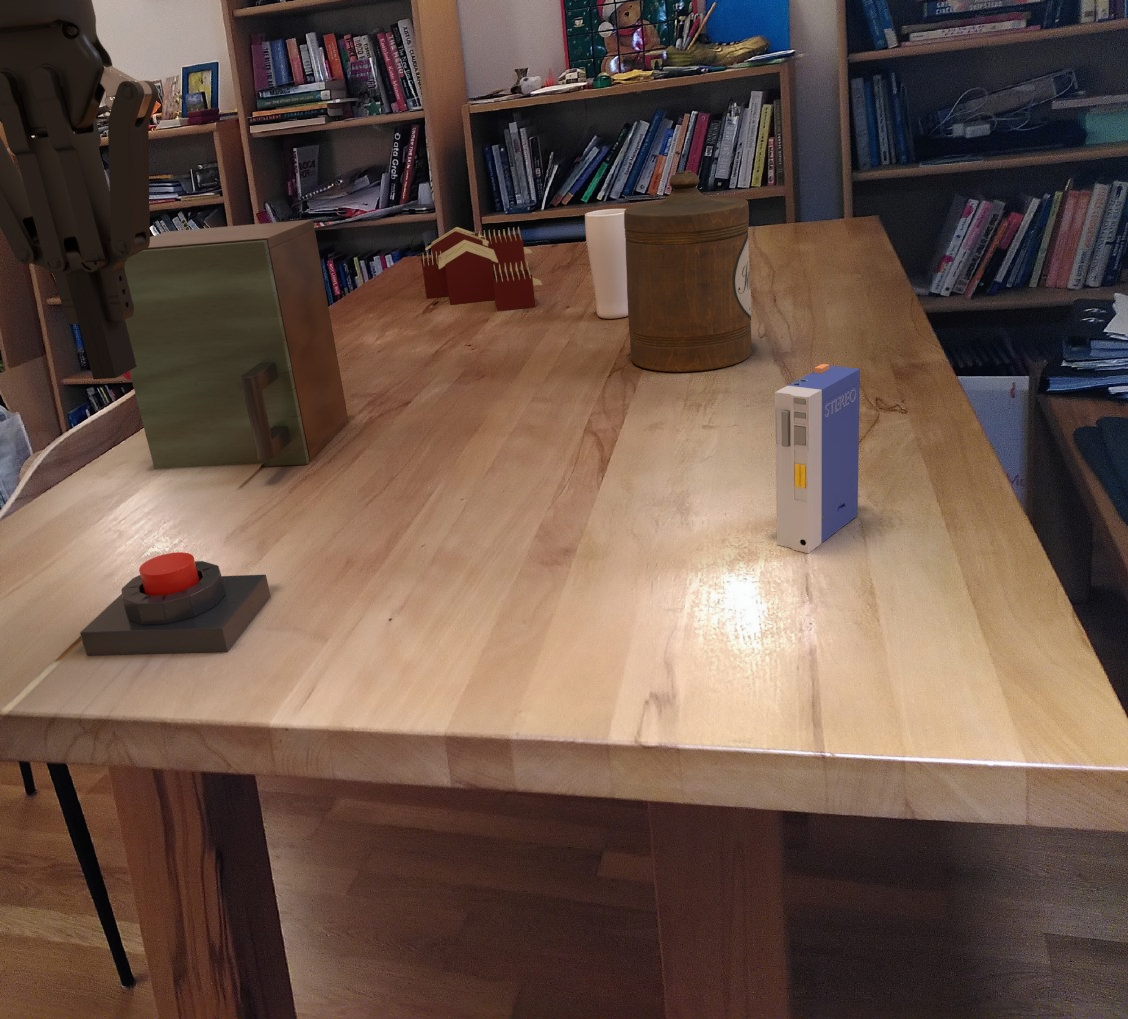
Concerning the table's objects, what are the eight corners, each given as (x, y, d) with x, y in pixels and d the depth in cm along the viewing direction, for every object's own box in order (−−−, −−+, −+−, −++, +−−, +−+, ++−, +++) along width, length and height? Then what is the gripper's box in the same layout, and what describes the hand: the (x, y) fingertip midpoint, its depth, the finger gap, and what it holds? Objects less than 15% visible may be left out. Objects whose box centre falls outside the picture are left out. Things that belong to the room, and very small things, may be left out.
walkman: (824, 509, 82) (825, 360, 77) (858, 516, 80) (860, 363, 75) (773, 546, 76) (771, 388, 72) (807, 554, 75) (807, 392, 70)
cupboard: (310, 462, 104) (267, 237, 96) (160, 470, 106) (104, 251, 98) (348, 422, 116) (313, 219, 108) (212, 430, 118) (167, 231, 110)
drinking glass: (647, 314, 154) (640, 209, 148) (610, 323, 151) (602, 216, 145) (619, 308, 159) (612, 207, 154) (583, 317, 156) (574, 214, 150)
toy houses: (427, 275, 206) (420, 222, 202) (530, 263, 207) (525, 211, 204) (425, 320, 164) (416, 255, 160) (554, 306, 166) (548, 241, 162)
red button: (135, 599, 70) (129, 575, 70) (159, 575, 74) (154, 553, 73) (185, 597, 70) (179, 574, 69) (208, 573, 73) (202, 551, 73)
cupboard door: (289, 484, 98) (241, 250, 90) (129, 492, 100) (68, 264, 92) (310, 461, 104) (267, 239, 96) (158, 469, 106) (103, 253, 98)
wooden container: (774, 358, 125) (772, 165, 116) (662, 380, 120) (650, 181, 112) (716, 336, 138) (709, 161, 129) (612, 354, 133) (599, 175, 125)
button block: (86, 657, 70) (72, 611, 69) (142, 601, 77) (131, 559, 76) (227, 653, 69) (216, 606, 67) (271, 597, 76) (261, 553, 75)
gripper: (-151, -40, 54) (-16, 395, 63) (81, -68, 53) (186, 383, 62) (-58, -27, 61) (53, 363, 70) (150, -52, 60) (236, 351, 69)
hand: (115, 372), depth 66 cm, fingers closed
